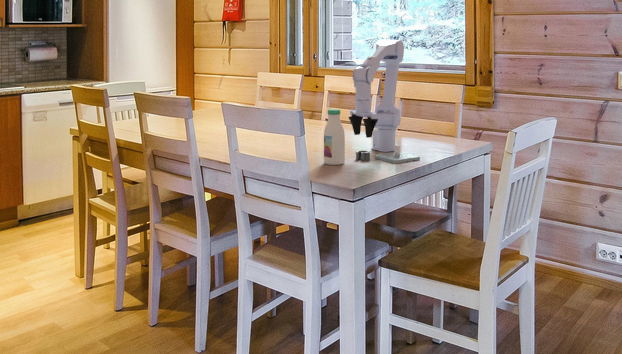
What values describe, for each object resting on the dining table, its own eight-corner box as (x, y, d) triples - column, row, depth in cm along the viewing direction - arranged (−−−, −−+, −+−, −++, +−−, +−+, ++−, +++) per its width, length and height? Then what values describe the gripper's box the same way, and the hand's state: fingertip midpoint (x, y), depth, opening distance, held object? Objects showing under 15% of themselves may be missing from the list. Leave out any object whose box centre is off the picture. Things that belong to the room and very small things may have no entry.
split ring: (353, 159, 246) (353, 151, 246) (364, 157, 249) (364, 149, 248) (361, 161, 242) (361, 153, 241) (372, 159, 245) (372, 151, 244)
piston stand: (375, 158, 247) (375, 144, 246) (399, 154, 253) (399, 141, 252) (394, 163, 237) (394, 149, 236) (419, 159, 243) (420, 146, 242)
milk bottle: (343, 161, 243) (343, 108, 238) (345, 165, 235) (345, 110, 231) (323, 161, 242) (322, 108, 238) (324, 165, 235) (324, 111, 231)
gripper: (343, 99, 244) (343, 134, 247) (365, 102, 232) (365, 139, 235) (358, 97, 248) (358, 132, 251) (381, 101, 236) (381, 137, 239)
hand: (362, 135), depth 243 cm, fingers open, 7 cm apart
